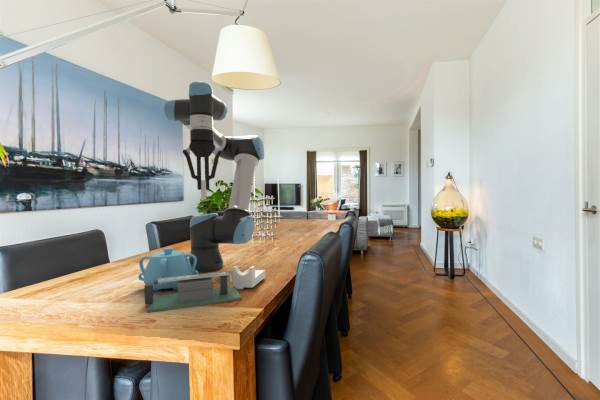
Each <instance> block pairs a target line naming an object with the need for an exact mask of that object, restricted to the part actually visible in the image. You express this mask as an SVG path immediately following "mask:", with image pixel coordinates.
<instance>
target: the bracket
mask: <svg viewBox="0 0 600 400" xmlns="http://www.w3.org/2000/svg"><path fill="white" fill-rule="evenodd" d="M265 278H266V269H265V270H264V269H256V266H255V265H252V266H250V267H249V269H245V270H244V271H243V272H242V271H241V270H240V267H239V265H234V266H232V286H235V287H236V289H237V290H243V289H245V288H250V289H251V288H255V286H256V285H257V284H259V283H260V282H262V280H263V279H265Z"/></svg>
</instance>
